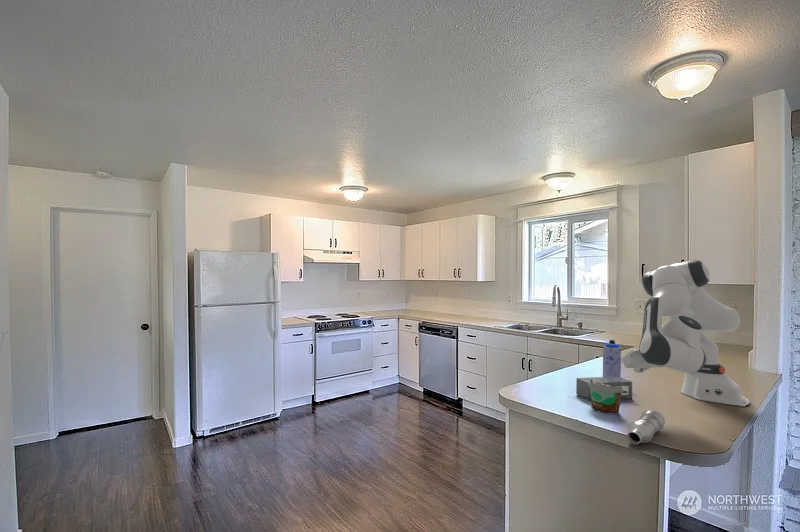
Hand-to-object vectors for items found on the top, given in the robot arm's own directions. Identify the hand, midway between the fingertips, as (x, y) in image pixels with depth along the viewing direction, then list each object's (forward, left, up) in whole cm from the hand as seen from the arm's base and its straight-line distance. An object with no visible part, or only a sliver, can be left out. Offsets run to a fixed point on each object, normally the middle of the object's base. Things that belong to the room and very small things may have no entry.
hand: (637, 370), depth 147 cm
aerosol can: (+17, -35, -15) cm, 42 cm away
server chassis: (+14, -8, -15) cm, 22 cm away
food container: (+9, +10, -15) cm, 21 cm away
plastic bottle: (-8, +16, -11) cm, 22 cm away
